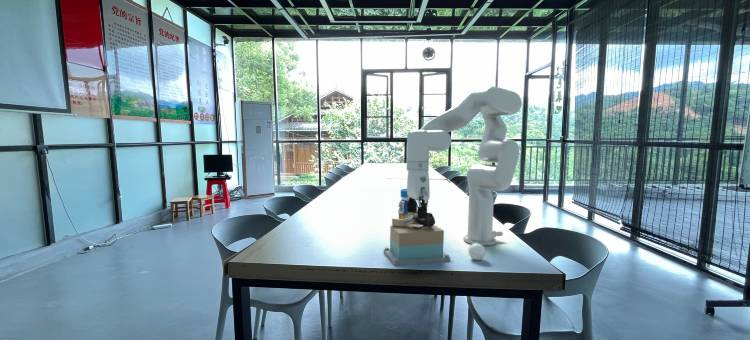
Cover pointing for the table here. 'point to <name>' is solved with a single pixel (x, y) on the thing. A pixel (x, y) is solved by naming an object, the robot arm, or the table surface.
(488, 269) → the table surface
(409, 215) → the beverage bottle
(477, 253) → the white sphere
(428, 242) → the tan and blue box
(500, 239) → the table surface
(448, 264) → the table surface
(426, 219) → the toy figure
